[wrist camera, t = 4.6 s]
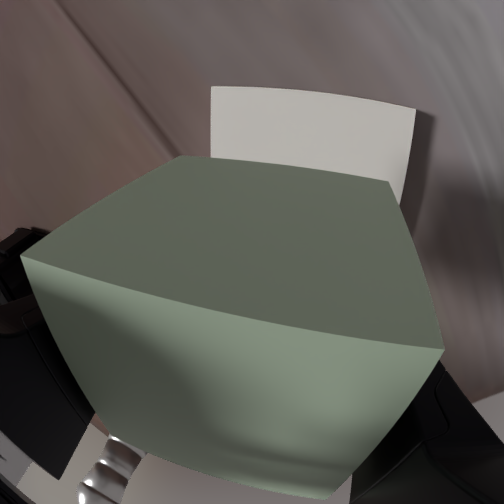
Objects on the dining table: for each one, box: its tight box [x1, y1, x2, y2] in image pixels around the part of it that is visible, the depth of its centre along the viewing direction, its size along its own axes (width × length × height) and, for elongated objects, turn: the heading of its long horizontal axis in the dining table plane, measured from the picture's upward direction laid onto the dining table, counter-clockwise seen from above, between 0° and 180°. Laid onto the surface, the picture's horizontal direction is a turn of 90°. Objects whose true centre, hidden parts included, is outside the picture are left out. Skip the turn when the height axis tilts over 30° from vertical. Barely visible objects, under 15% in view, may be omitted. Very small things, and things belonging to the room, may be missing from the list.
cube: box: [20, 156, 445, 500], centre depth 7 cm, size 6×6×6 cm
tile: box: [211, 86, 416, 205], centre depth 16 cm, size 10×10×1 cm
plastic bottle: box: [76, 434, 148, 504], centre depth 33 cm, size 6×7×20 cm
